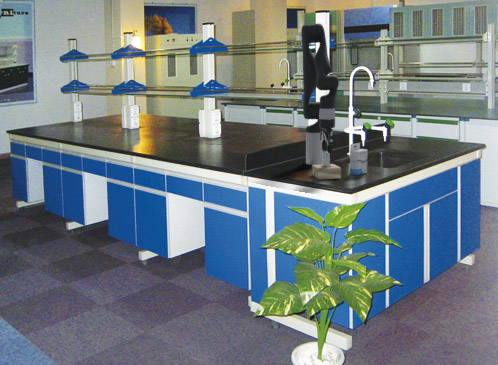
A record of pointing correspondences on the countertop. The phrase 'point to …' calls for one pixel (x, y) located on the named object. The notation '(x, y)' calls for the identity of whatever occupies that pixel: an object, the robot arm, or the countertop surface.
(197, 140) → the countertop surface
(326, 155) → the metal pin
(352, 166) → the ink box
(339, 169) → the hole block
